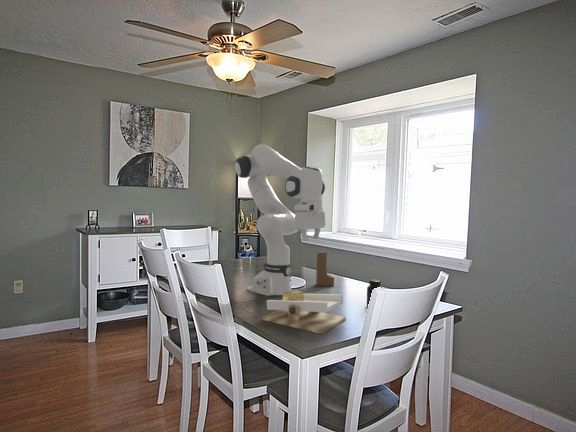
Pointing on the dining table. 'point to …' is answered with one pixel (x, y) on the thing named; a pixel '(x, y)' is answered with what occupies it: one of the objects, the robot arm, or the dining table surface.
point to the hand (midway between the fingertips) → (310, 239)
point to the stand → (305, 319)
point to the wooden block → (323, 271)
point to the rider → (293, 296)
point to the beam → (309, 303)
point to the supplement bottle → (373, 284)
